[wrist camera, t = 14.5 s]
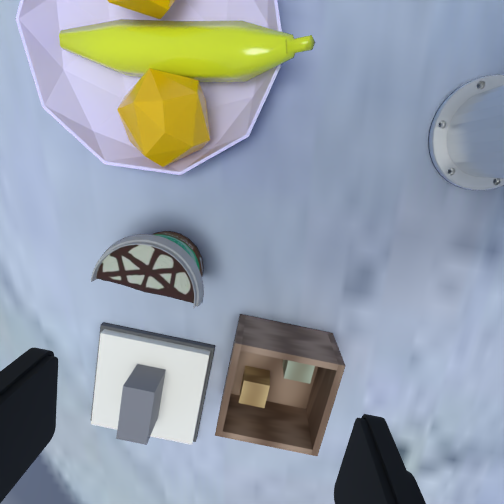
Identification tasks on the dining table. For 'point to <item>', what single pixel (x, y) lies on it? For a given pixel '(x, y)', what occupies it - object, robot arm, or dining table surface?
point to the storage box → (281, 386)
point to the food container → (155, 265)
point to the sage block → (297, 371)
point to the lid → (148, 387)
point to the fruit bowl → (155, 73)
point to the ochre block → (254, 386)
